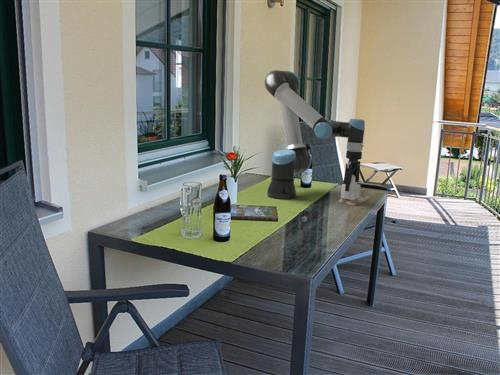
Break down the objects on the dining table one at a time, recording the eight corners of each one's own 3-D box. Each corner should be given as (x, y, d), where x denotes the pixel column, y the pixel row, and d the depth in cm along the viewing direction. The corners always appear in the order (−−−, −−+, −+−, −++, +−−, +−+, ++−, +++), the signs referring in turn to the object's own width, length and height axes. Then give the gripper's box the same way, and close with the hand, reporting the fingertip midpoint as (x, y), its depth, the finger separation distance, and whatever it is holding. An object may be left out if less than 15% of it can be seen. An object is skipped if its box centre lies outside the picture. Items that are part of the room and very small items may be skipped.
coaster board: (337, 202, 247) (338, 199, 247) (352, 196, 264) (353, 192, 264) (354, 205, 243) (355, 202, 242) (369, 198, 259) (369, 195, 259)
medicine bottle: (346, 195, 253) (348, 172, 250) (359, 198, 249) (361, 174, 246) (340, 198, 247) (342, 174, 244) (353, 200, 243) (355, 176, 240)
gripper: (354, 153, 233) (349, 200, 237) (368, 149, 249) (364, 194, 254) (339, 151, 236) (334, 198, 241) (354, 148, 253) (350, 191, 258)
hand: (349, 195), depth 248 cm, fingers closed on medicine bottle, 7 cm apart
